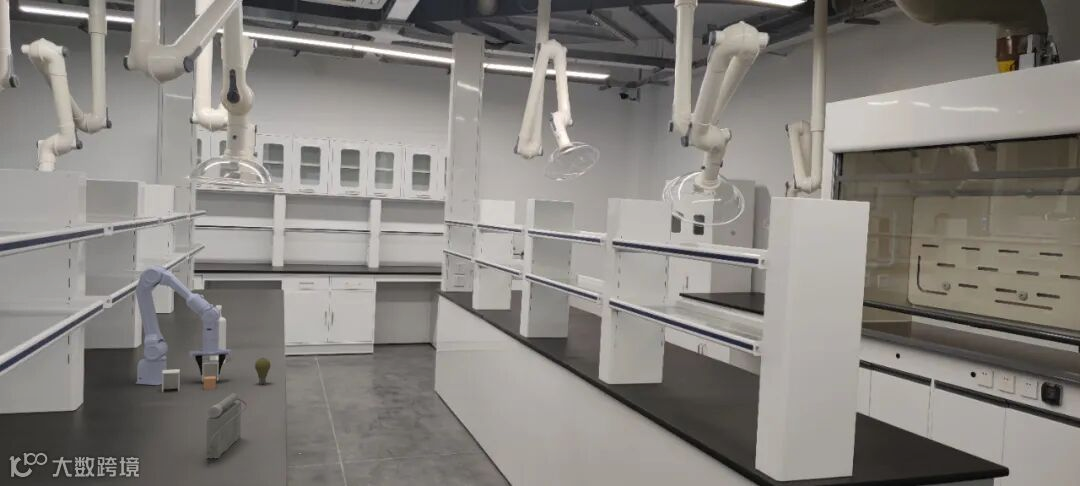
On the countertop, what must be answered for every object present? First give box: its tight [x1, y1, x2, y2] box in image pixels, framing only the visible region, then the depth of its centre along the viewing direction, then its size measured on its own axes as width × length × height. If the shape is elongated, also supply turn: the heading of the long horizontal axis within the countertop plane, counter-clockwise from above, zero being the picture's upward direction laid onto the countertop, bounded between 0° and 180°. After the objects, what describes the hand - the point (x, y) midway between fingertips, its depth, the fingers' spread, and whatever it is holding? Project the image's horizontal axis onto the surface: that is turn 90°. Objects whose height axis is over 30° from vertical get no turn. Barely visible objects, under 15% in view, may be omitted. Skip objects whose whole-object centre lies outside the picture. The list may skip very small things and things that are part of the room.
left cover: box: [161, 368, 181, 393], centre depth 274 cm, size 6×6×7 cm
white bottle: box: [209, 304, 227, 364], centre depth 323 cm, size 7×12×25 cm, turn 19°
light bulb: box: [254, 357, 271, 385], centre depth 288 cm, size 6×6×10 cm
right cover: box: [201, 359, 219, 383], centre depth 288 cm, size 6×6×7 cm
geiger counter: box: [205, 392, 248, 459], centre depth 209 cm, size 14×6×25 cm
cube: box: [203, 376, 217, 390], centre depth 279 cm, size 4×4×4 cm
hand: (210, 374), depth 288 cm, fingers closed on right cover, 5 cm apart
